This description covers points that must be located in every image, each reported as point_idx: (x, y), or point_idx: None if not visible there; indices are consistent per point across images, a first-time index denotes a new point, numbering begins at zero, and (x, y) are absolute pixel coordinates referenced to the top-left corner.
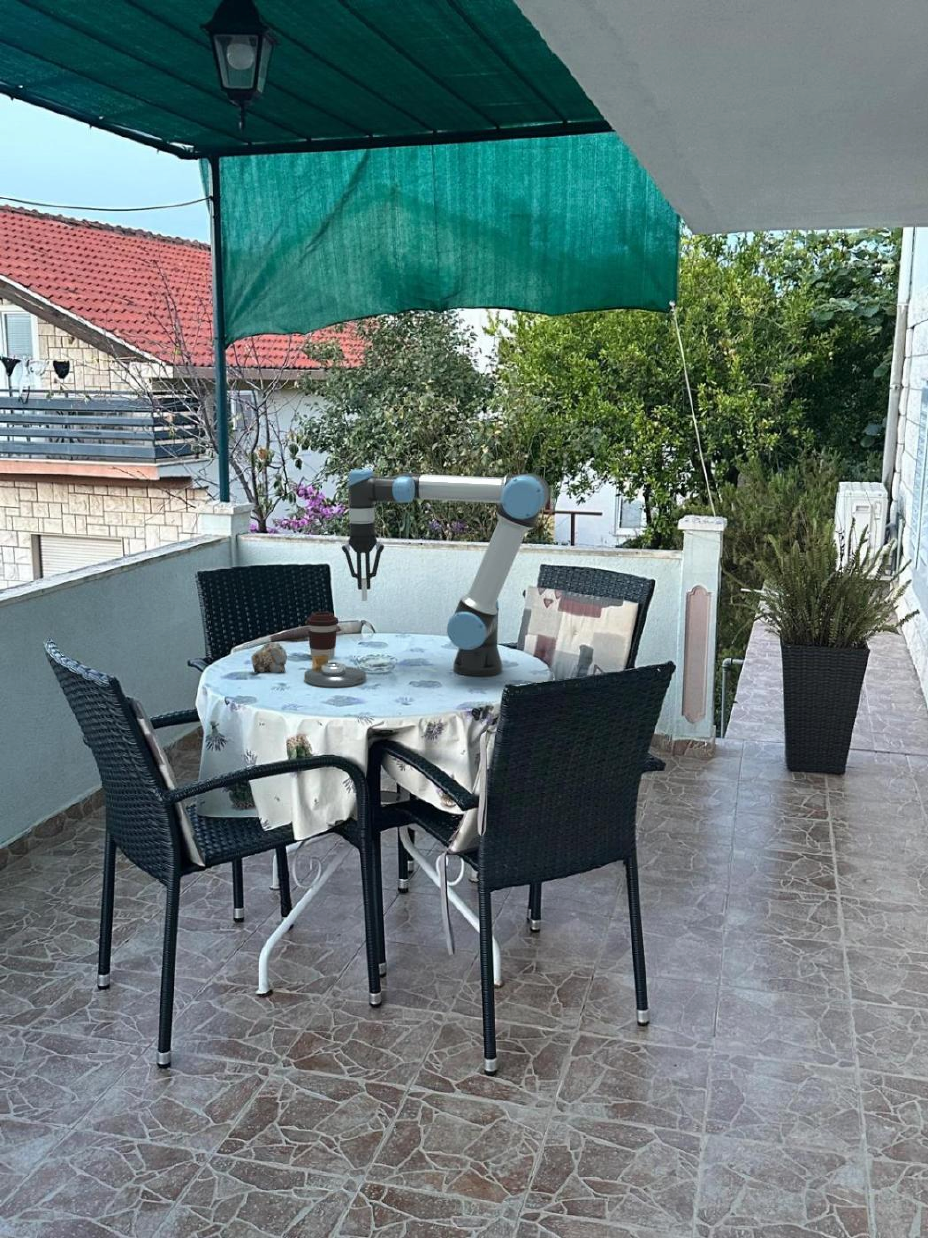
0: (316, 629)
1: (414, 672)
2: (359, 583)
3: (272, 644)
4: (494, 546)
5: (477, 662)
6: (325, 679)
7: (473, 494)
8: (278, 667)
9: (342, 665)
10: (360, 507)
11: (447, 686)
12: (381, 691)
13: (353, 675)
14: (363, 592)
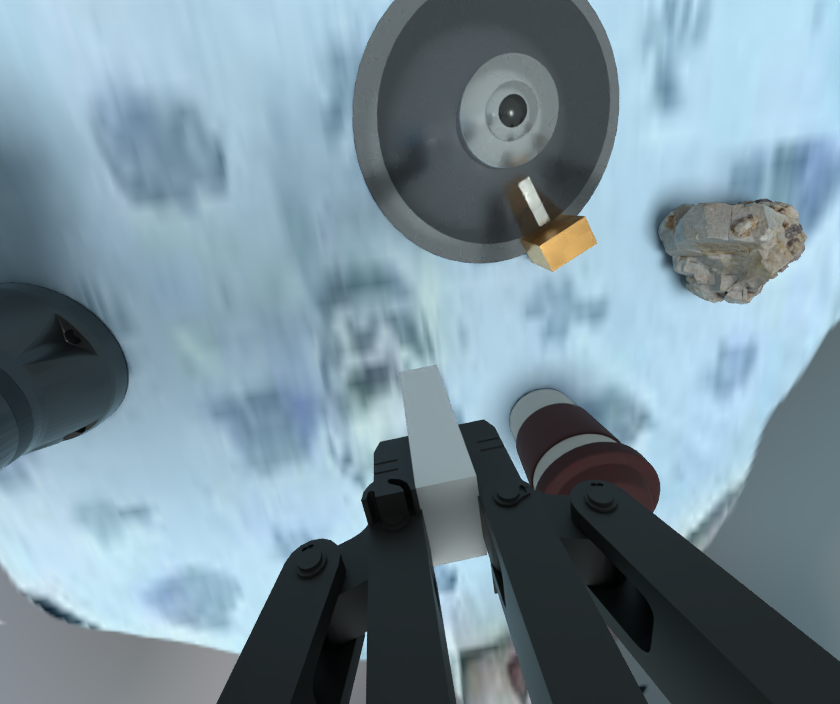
0: (607, 441)
1: (244, 313)
2: (490, 457)
3: (772, 257)
4: None
5: None
6: (528, 3)
7: None
8: (694, 205)
9: (474, 122)
10: None
11: (68, 124)
12: (300, 7)
13: (422, 94)
14: (434, 399)
